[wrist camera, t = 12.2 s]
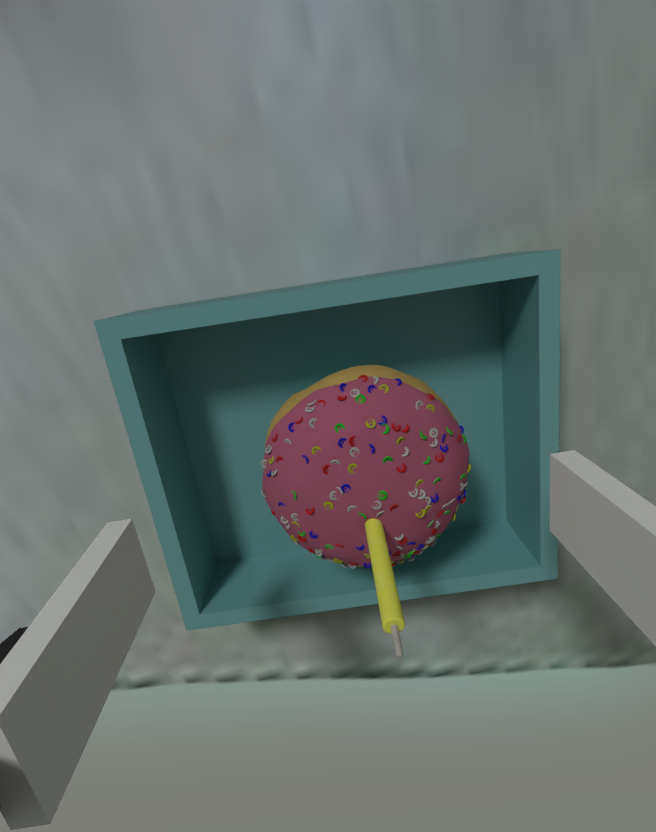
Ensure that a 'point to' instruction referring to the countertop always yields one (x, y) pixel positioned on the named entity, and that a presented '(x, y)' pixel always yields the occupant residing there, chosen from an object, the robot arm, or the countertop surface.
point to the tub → (304, 366)
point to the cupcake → (366, 473)
